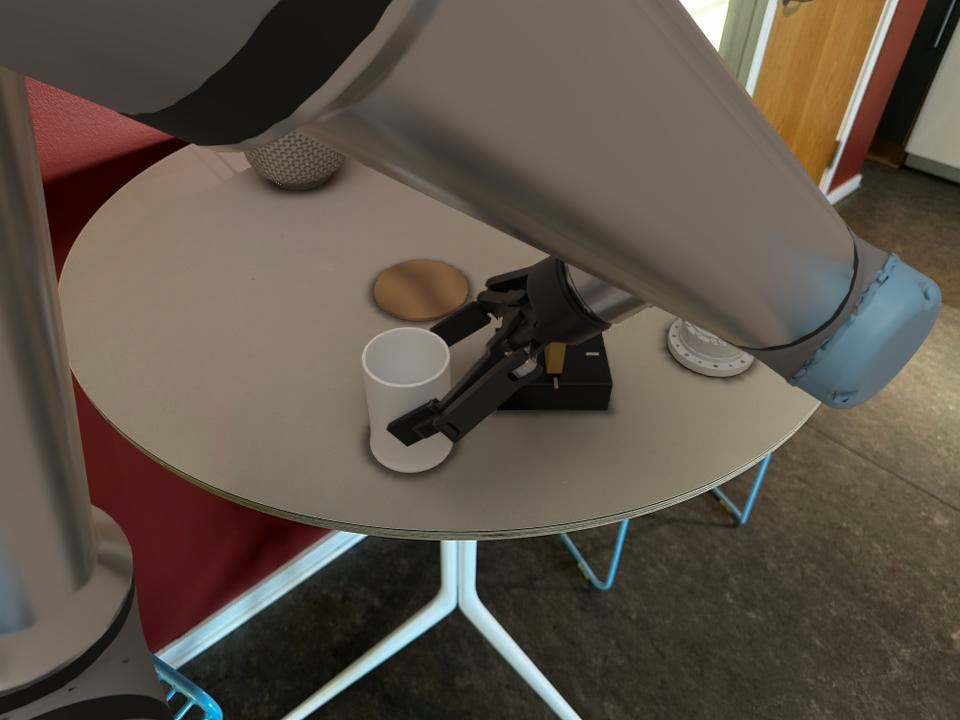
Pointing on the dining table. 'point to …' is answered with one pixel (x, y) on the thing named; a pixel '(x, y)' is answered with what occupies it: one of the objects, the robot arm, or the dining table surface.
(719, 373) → the mechanical component
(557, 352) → the yellow rectangular block
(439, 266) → the coaster
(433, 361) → the mug
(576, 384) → the socket block
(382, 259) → the dining table surface
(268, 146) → the planter
